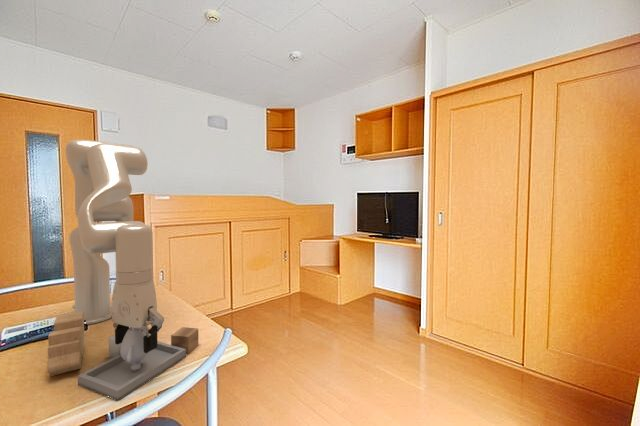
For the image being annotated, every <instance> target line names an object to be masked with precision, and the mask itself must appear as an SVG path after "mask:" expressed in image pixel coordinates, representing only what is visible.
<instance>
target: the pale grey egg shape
mask: <svg viewBox="0 0 640 426" xmlns="http://www.w3.org/2000/svg"><path fill="white" fill-rule="evenodd" d="M121 344H122V343H120V344H115V334H113V335H112V336H110V337H109V338H108V358H109V359H108V360H110V359H112V358H114V357H116V356H118V355H120V348H121Z"/></svg>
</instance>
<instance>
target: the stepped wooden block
mask: <svg viewBox="0 0 640 426" xmlns="http://www.w3.org/2000/svg"><path fill="white" fill-rule="evenodd" d="M47 337H48V338H47V340H48V341H47V342H48V346H47V367H46V368H47V370H46V371H47V374H49V377H53V376H56V375H60V374H64V373H68V372H72V371H76V370H80V369H82V360H83V357H84V351H85V325H84V311H83V312H77V313H75V312H71V313H66V314H59V315H56V318H55V320H54V322H53V331H51V332H50V333H48V336H47Z"/></svg>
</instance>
